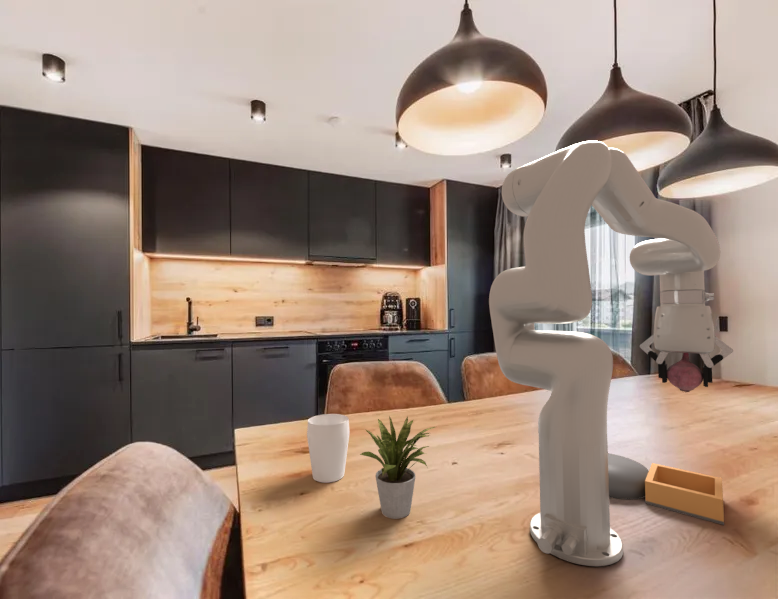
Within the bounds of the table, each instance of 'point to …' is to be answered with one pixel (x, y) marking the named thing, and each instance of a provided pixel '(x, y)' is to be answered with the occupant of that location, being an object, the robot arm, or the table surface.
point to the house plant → (396, 468)
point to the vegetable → (685, 374)
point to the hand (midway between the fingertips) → (684, 383)
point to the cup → (328, 446)
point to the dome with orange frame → (667, 488)
